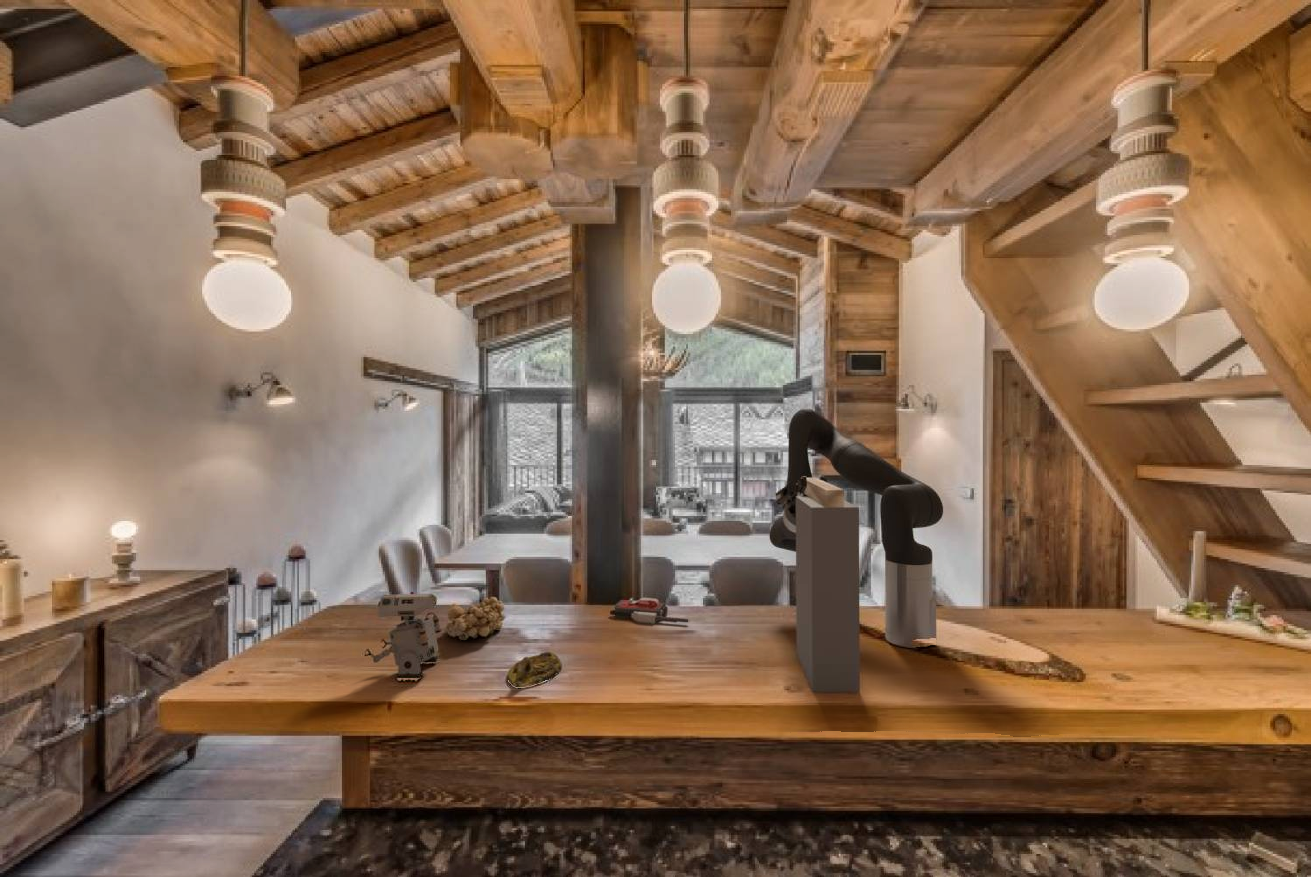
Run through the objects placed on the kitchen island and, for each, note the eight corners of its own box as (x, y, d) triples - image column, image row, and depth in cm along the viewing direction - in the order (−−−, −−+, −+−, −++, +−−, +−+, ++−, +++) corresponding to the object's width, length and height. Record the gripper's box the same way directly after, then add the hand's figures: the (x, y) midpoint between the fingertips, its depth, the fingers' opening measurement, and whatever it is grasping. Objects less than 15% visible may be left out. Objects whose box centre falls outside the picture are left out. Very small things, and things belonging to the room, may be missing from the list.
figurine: (387, 663, 117) (386, 588, 116) (445, 662, 117) (444, 587, 116) (364, 683, 108) (362, 601, 107) (427, 682, 107) (425, 601, 107)
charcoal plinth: (837, 656, 117) (836, 496, 117) (859, 692, 101) (859, 507, 101) (796, 655, 118) (795, 496, 117) (812, 691, 102) (811, 507, 101)
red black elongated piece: (606, 621, 141) (687, 628, 136) (606, 603, 141) (687, 609, 136) (618, 610, 150) (695, 616, 144) (618, 592, 150) (695, 598, 144)
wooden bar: (815, 491, 125) (815, 477, 125) (844, 507, 101) (844, 490, 101) (801, 491, 125) (801, 477, 125) (826, 507, 101) (826, 490, 101)
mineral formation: (509, 624, 138) (499, 644, 124) (451, 637, 137) (434, 658, 122) (503, 590, 139) (492, 606, 124) (445, 603, 137) (427, 619, 122)
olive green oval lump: (527, 662, 120) (495, 694, 105) (524, 639, 120) (492, 668, 105) (571, 659, 118) (545, 692, 103) (568, 636, 118) (542, 665, 104)
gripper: (768, 497, 136) (777, 463, 121) (830, 496, 135) (847, 463, 120) (771, 527, 133) (780, 497, 117) (834, 527, 132) (852, 497, 117)
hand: (814, 480), depth 119 cm, fingers closed on wooden bar, 3 cm apart
